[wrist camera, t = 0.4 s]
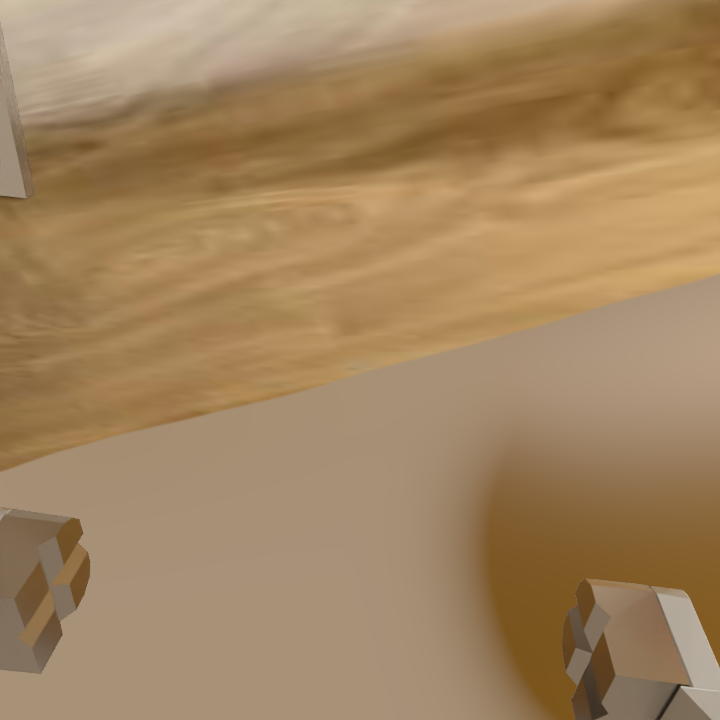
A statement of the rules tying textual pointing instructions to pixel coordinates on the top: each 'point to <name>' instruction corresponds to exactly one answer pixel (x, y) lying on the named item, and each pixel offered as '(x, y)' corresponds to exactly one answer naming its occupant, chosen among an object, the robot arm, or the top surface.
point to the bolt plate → (12, 137)
